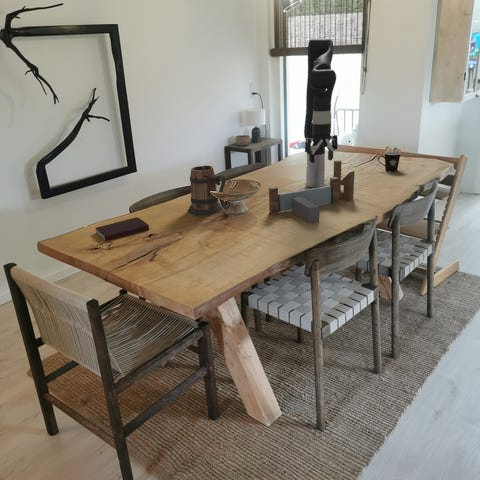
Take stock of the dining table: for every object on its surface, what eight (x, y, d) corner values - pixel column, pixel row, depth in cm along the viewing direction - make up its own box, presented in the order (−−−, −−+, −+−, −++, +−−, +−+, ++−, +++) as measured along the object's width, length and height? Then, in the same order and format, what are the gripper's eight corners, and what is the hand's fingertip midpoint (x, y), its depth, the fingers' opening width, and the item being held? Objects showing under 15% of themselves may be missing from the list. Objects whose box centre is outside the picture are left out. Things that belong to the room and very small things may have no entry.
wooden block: (348, 201, 224) (350, 164, 217) (330, 197, 231) (331, 160, 224) (353, 199, 226) (355, 162, 219) (335, 195, 234) (336, 159, 227)
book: (149, 231, 202) (148, 223, 200) (105, 242, 192) (104, 235, 191) (138, 223, 211) (137, 216, 210) (95, 234, 202) (94, 226, 200)
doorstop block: (292, 213, 213) (292, 198, 210) (301, 211, 214) (301, 196, 212) (309, 224, 199) (309, 208, 197) (319, 222, 201) (319, 206, 198)
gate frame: (269, 213, 214) (268, 187, 209) (335, 201, 225) (335, 176, 220) (272, 215, 211) (271, 189, 207) (338, 203, 222) (339, 178, 217)
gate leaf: (275, 210, 215) (275, 193, 212) (328, 201, 224) (328, 185, 221) (278, 212, 213) (277, 195, 210) (331, 202, 221) (331, 186, 218)
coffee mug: (401, 169, 273) (402, 152, 269) (396, 173, 266) (398, 155, 262) (380, 167, 279) (382, 150, 275) (376, 171, 272) (377, 153, 268)
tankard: (180, 212, 221) (175, 170, 213) (201, 202, 234) (198, 162, 226) (221, 219, 209) (218, 175, 201) (241, 208, 222) (239, 166, 214)
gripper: (331, 119, 198) (330, 157, 204) (301, 122, 193) (301, 162, 199) (342, 121, 192) (340, 160, 198) (311, 124, 187) (310, 165, 193)
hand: (321, 161), depth 198 cm, fingers open, 8 cm apart
